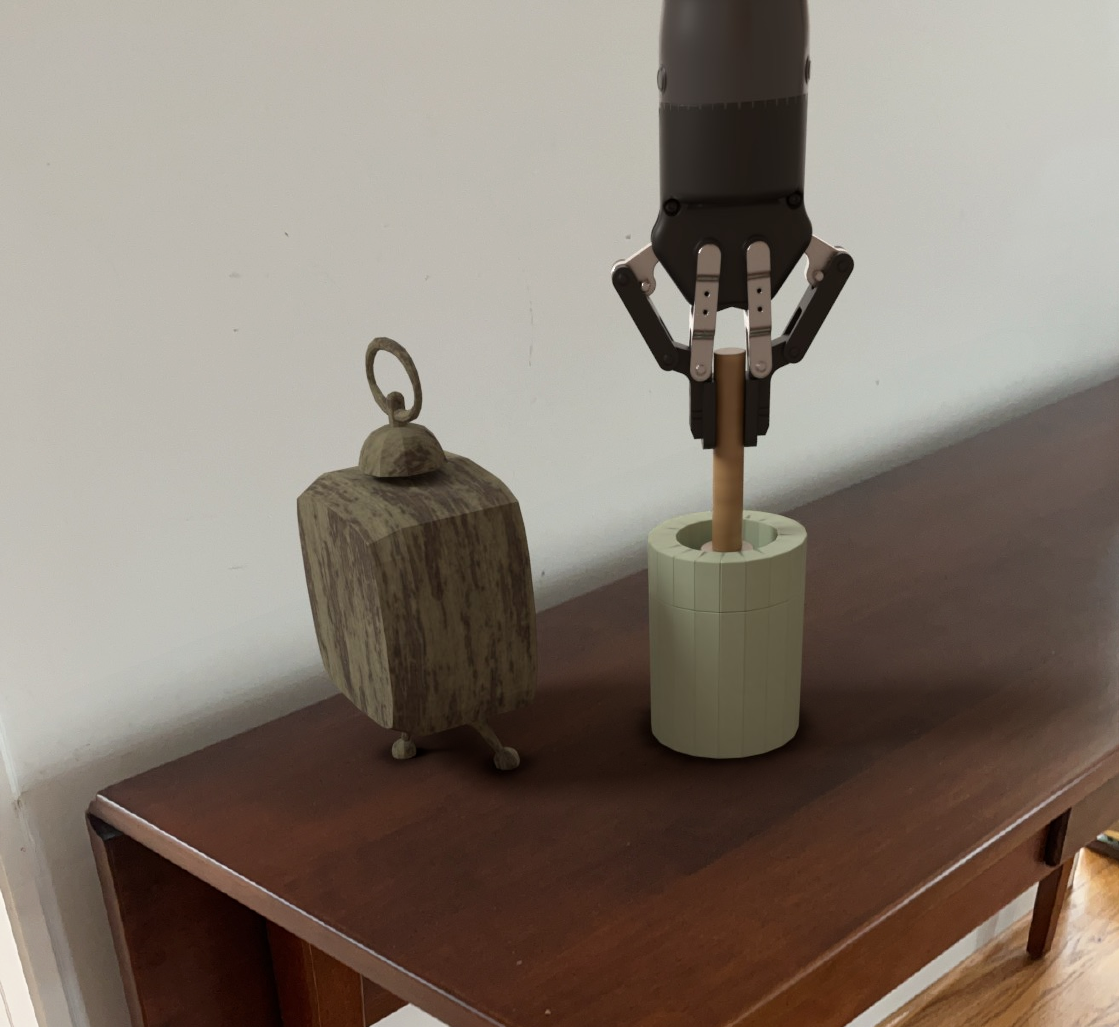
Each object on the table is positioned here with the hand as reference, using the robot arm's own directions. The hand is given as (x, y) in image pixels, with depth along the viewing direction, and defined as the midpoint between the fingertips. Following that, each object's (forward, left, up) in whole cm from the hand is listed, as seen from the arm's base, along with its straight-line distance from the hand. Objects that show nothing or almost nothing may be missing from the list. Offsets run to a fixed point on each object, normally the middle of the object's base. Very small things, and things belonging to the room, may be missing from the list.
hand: (728, 443), depth 82 cm
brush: (0, 0, -12) cm, 12 cm away
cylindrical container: (0, 0, -18) cm, 18 cm away
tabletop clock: (+19, +1, -18) cm, 26 cm away
